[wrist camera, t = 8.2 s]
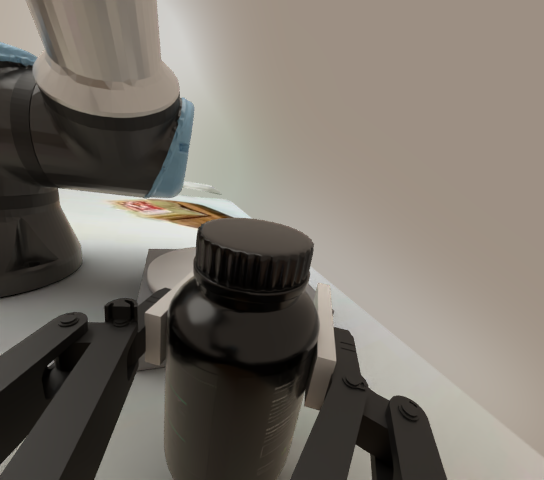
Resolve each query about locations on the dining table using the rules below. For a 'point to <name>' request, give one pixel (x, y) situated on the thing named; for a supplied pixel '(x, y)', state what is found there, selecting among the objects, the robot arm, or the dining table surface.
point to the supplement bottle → (239, 352)
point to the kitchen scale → (170, 279)
